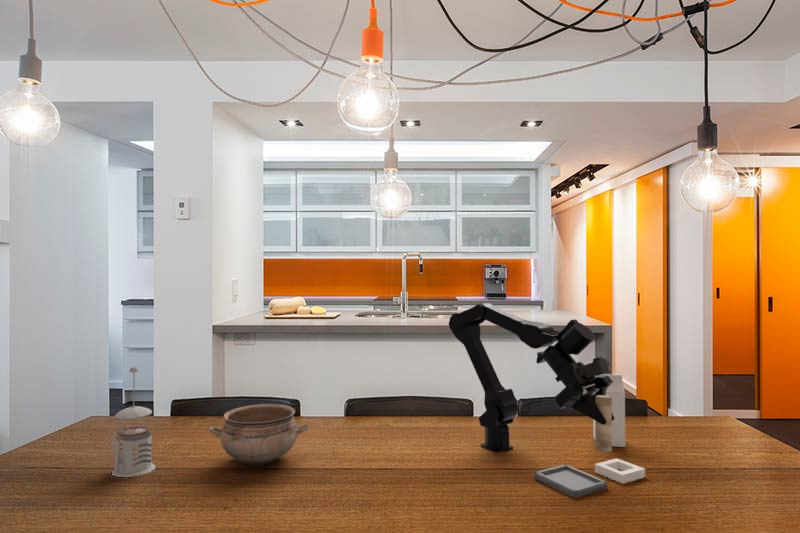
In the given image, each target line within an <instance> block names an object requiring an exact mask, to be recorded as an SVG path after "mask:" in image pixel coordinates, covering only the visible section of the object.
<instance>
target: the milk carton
mask: <svg viewBox="0 0 800 533" xmlns="http://www.w3.org/2000/svg"><path fill="white" fill-rule="evenodd" d="M601 375H606V376H609V377H610V379H611V380H612V381H613V383H612V384H611V385H610V386H608V387H607V390H606V396H609V397H612V414H613V416H614V420H613V421H612V447H619V448H625V447H626V399H625V398H626V391H625V387H624V383H623V375H622V374H608V373H605V374H601ZM601 375H598V376H601ZM598 376H595V377H598ZM592 420H593V423H592V425H593V439H594V440H595V420H594V419H592Z"/></svg>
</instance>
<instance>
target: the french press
mask: <svg viewBox="0 0 800 533" xmlns="http://www.w3.org/2000/svg"><path fill="white" fill-rule="evenodd" d="M137 372H139V368H138V367H137V366H131V367H130V368H129V373H133V374H132V375H133V376H132V377H133V380H132V381H133V384H132V385H133V390H132V391H133V395H132V397H133V400H132V402H133V405H132V406H129V407H126V408H124V409H122V410H120V411H118V412H117V413H116V414H115V415H114V417H115V418H116V420H121V421H130V420H132V424H133V425H132V426H127V427H125V425H124V424H120V425H119V424H118V423H115V424H114V425H113V426H112V427H111V429H110V430H109V432H108V434H107V439H106V440H107V441H106V445H107V446H106V447H107V450H108V451H109V453H110V454H111V455H113V456H114V457H115V459H114V461H115V462H114V465H115V467H114V469H113V470H112V471H111V472H112V475H114V476H117V477H132V476H138V477H140V476H139V475H142V476H144V475H143V474H145V475H147V474H146V473H148V474H150V473H152V472H153V471H155V470H154V469H156V468H157V466H156V465H155V464H154V462H152V459H153V458H152V443H153V442H152V441H153V440H152V438H153V437H152V436H153V435H152V433H151V432H149V431H150V430H151V428H150V427H149V426H147V425H135V420H136V419H137V420H138V419H142V418H146V417H148V416H151V414H152V413H153V411H152V409H150V408H148V407H145V406H144V407H143V406H136V405H135V373H137ZM115 426H116V428H117V429H116V430H115V432H114V433H113V438H112V449H113V451H114V453H113V452H112V451H111V449H110V445H109V439H110V436H111V433H112V430H113V429H114V427H115ZM116 434H117V437H116ZM120 441H121V442H120ZM120 446H121V447H120ZM155 467H156V468H155ZM152 470H153V471H152ZM151 471H152V472H151ZM149 472H150V473H149Z"/></svg>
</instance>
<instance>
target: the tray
mask: <svg viewBox="0 0 800 533" xmlns="http://www.w3.org/2000/svg"><path fill="white" fill-rule="evenodd" d="M534 479H535V480H537V481H538V482H541V483H543V484H545V485H548V486H549V487H551V488H553V489H556V490H557V491H559V492H562V493H563V494H565V495H567V496H570V497H571V498H573V499H578V498H581V497H584V496H588V495H591V494H594V493H599V492H601V491H605V490H608V489H609V488H608V481H606V480H604V479H602V478H599V477H597V476H595V475H592V474H589V473H588V472H586V471H583V470H580V469H578V468H576V467H574V466H572V465H568V463H567V464H561V465H557V466H554V467H550V468H545V469H542V470H538V471H534Z"/></svg>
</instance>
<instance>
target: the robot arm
mask: <svg viewBox="0 0 800 533" xmlns="http://www.w3.org/2000/svg"><path fill="white" fill-rule="evenodd" d="M485 321H488V322H489V323H491V324H494V325H495V326H498V327H499V328H502V329H504V330H506V331H508V332H511V333H512V334H514V335H515V336H517V337H518V338H519V340H520V341H521V342H523V344H525V345H527V346H528V347H530V348H531V349H534V350H535V349H542V348H545V349H544V350H543V351H539V352H537V353H536V355H537V357H536V364H542V363H547V365H548V366H549V367H550V368H551V370H552V372H554V374H555V375H556V376H555V378H554V379H555V381H556V382H561V383H562V384H563V385H564V388H563V389H562V390H560V392H558V394H556V395H555V396H554V404H556V406H557V408H558V409H559V410H562V409H565V408H567V407H568V403H569V402H570V401H571V402H572V404H571V405H570V407H569V408H570V409H571V410H575V411H577V412H579V413H581V414H583V415H584V416H587V417H588V418H590V419H592V420H593V419H594V420H595V421H597V422H599V423H601V424H603V425H604V424H606V423H607V421H606V419H605V417H604V416H603V414H602V413H601V411H600V410H599V408H598V407H597V405H596V404H595V396H597V395H604V396H606V390H607V387H608V386H610V385H611V384H612V383H613V381H612V380H611V379H610V377H609V376H606V375H601V374H608V373H610V372H611V371H610V369H609V366H610V364H611V363H610V362H609V361H608V360H607V358H604V357H603V356H598V357H595V358H593V359H592V362H590V363H586V364H584V363H583V362H581V361H578V362H577V361H576V360H575V359H574V358H573V356H572V355H575V356H576V355H577V356H578V355H579V354H580V353H582V352H583V351H584V350H585V349H587V347H588V346H589V345H590V344H592V342H594V340H595V338H596V337H595V336H596V335H595V334H594V333H593V331H592V330H591V328H589V327H587V326H586V325H585V324H582V323H580V322H578V320H577V319H570V320H569V321H568V323H567V324H566V326H564V328H563V329H562V330H558V329H557V330H556V329H554V327H553V326H551V325H550V324H549V323H544V322H543V323H542V322H539V321H534V320H532V321H531V320H526V319H523V318H521V317H520V316H517V315H515V314H513V313H510V312H508V311H505V310H503V309H501V308H499V307H497V306H495V305H493V304H492V303H489V302H485V303H481V302H480V303H478V304H476V305H474V306H473V307H470V308H468V309H466V310H464V311H461V312H456V313H453V314H452V315H451V316H450V318H449V321H448V326H449V329H450V331H451V333H452V334H453V336H454V337H455V338H456V339H457V341H459V342H460V343H461V344H463V346H464V348H465V350H466V353H467V355H468V357H469V359H470V361H471V364H472V366H473V368H474V371H475V374H476V376H477V377H478V380H479V382H480V384H481V386H482V389H483V391H484V400H483V401H484V402H483V403H484V407H485V411H484V412H483V413H482V414H481V415H480V416H479V417H478V421H479V425H480V426H481V427H483V428H484V442H482V443H480V446H481V447H483V448H484V449H487V450H489V451H491V452H494V453H498V452H503V451H508V450H513V449H514V446H513V445H510V432H509V431H510V430H509V429H510V427H509V425H510V424H513V423H514V420H515V418H516V417H517V415H518V413H519V405H518V403H519V401H518V400H517V399H516V396H515V394H514V391H513V389H512V388H505V387H504V386H503V385H502V384H501V381H500V380H499V377H498V374H497V373H496V370H495V368H494V366H493V364H492V361H491V359H490V357H489V356H488V353H487V351H486V348H485V346H484V344H483V342H482V340H481V326H480V325H481V324H483V323H485ZM555 342H556V343H555ZM554 343H555V344H554ZM553 344H554V345H553ZM598 375H601V376H598ZM595 376H598V377H595ZM613 420H614V416H613V414H612V421H613Z"/></svg>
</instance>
